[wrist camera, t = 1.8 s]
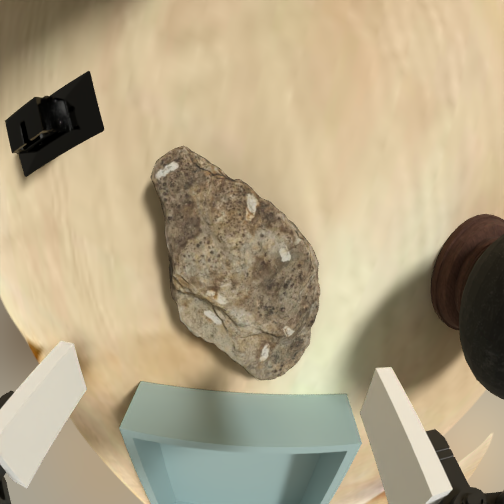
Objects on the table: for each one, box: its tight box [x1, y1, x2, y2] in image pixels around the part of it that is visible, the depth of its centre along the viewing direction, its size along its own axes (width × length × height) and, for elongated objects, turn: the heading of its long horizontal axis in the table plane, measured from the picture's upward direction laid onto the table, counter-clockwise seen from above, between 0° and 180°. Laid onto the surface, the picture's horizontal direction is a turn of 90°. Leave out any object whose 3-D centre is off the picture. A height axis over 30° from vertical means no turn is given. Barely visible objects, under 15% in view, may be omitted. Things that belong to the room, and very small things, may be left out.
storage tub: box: [119, 381, 362, 504], centre depth 28 cm, size 26×20×6 cm
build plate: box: [5, 71, 104, 177], centre depth 18 cm, size 12×7×5 cm, turn 108°
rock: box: [151, 146, 320, 380], centre depth 22 cm, size 18×11×4 cm, turn 44°
